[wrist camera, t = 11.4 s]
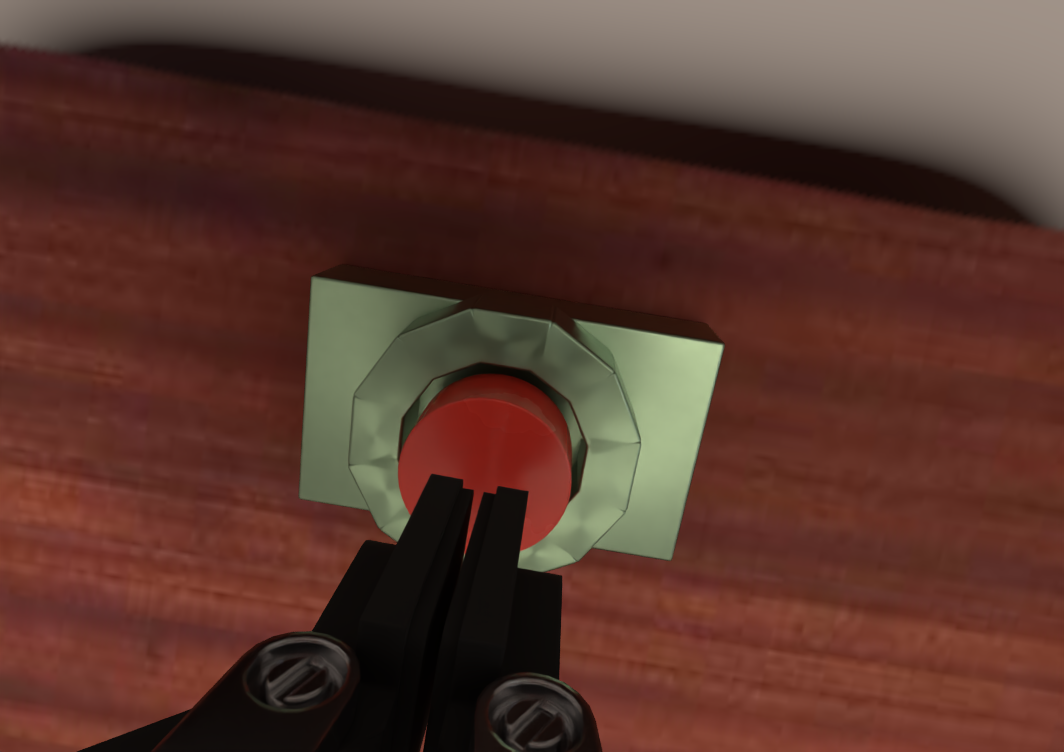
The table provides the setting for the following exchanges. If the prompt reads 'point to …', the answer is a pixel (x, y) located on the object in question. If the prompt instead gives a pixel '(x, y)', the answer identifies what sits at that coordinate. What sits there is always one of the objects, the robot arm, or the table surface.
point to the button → (493, 448)
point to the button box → (523, 352)
